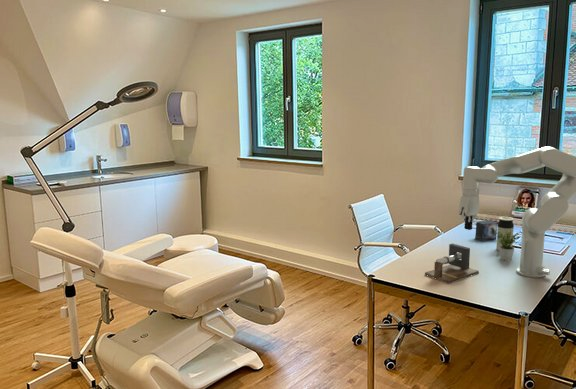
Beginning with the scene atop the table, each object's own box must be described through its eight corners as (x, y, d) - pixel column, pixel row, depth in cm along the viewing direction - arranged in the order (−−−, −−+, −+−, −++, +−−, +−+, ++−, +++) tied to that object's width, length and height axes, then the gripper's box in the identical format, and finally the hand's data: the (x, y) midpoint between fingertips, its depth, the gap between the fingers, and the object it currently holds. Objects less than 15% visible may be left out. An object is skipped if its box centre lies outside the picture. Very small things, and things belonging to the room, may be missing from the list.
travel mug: (509, 247, 273) (511, 216, 270) (514, 252, 266) (516, 219, 262) (494, 247, 274) (496, 216, 271) (499, 251, 266) (500, 219, 263)
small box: (481, 241, 287) (482, 223, 285) (474, 238, 293) (475, 221, 291) (496, 239, 290) (497, 222, 288) (489, 236, 296) (490, 219, 294)
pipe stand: (478, 273, 235) (479, 253, 233) (448, 283, 223) (449, 263, 221) (454, 265, 247) (455, 247, 245) (424, 274, 235) (425, 255, 233)
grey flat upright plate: (469, 268, 234) (470, 248, 232) (465, 269, 232) (466, 249, 230) (451, 262, 242) (452, 243, 240) (448, 263, 240) (449, 244, 239)
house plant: (525, 264, 245) (528, 233, 242) (496, 263, 248) (498, 232, 245) (518, 256, 259) (520, 226, 256) (490, 254, 262) (492, 225, 259)
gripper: (473, 189, 241) (471, 225, 245) (454, 192, 233) (451, 229, 237) (487, 191, 235) (484, 228, 239) (467, 195, 227) (465, 233, 231)
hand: (468, 229), depth 238 cm, fingers closed
